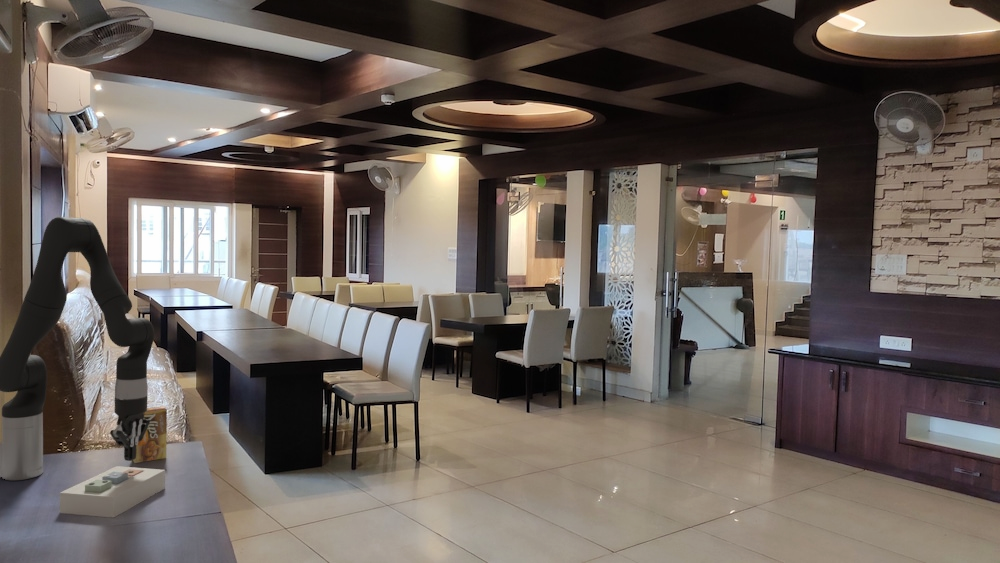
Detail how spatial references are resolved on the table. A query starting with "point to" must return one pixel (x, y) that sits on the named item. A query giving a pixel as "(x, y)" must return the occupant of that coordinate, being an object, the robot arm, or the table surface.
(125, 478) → the button three
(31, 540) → the table surface
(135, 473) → the button one
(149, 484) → the button panel
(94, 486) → the button two
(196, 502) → the table surface
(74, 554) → the table surface
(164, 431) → the candy box
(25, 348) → the robot arm
